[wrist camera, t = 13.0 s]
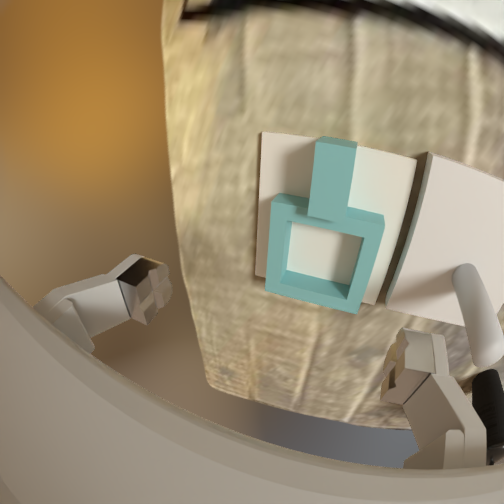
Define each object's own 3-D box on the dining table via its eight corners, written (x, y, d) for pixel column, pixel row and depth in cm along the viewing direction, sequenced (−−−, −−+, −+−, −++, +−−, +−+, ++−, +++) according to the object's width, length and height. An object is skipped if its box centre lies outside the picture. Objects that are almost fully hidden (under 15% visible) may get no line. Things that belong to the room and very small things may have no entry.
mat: (264, 131, 24) (262, 131, 23) (415, 159, 20) (417, 160, 19) (257, 272, 32) (255, 275, 32) (374, 301, 28) (374, 305, 28)
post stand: (428, 151, 19) (478, 192, 9) (537, 196, 15) (601, 257, 5) (385, 296, 27) (381, 388, 18) (482, 319, 23) (501, 401, 14)
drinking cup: (470, 397, 29) (468, 505, 13) (458, 379, 29) (456, 503, 13) (508, 377, 25) (517, 488, 9) (500, 356, 24) (514, 484, 8)
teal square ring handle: (283, 130, 23) (269, 135, 20) (396, 151, 20) (403, 159, 17) (272, 277, 31) (259, 299, 28) (358, 299, 28) (355, 324, 25)
